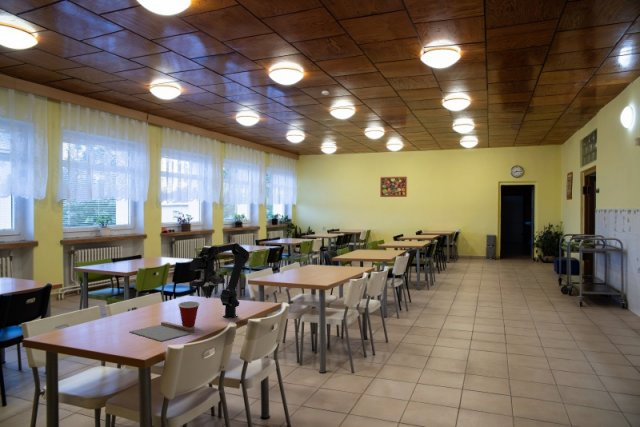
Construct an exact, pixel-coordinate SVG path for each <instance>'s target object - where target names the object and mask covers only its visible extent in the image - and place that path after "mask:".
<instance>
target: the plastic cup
mask: <svg viewBox="0 0 640 427" xmlns="http://www.w3.org/2000/svg"><path fill="white" fill-rule="evenodd" d="M200 304H201V303H200V302H197V301H193V300H192V301H183V302H179V303H178V304H177V306H178V309H179V312H180V319H181V320H180V321H181V326H185V327H189V328H194V327H195V325H196V319H197V315H198V310H199V306H200Z"/></svg>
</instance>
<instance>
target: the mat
mask: <svg viewBox="0 0 640 427" xmlns="http://www.w3.org/2000/svg"><path fill="white" fill-rule="evenodd" d="M128 333H131V334H133V335H134V334H135V335H137V336H141V337H144V338H147V339H151V340H154V341H159V342H160V343H162V342H165V341H170V340H174V339H178V338H181V337H185V336H188V335H189V336H190V335H193V333H190V332H187V331H183V330H179V329H175V328H171V327H167V326H163V325H161V324H157V325H151V326H148V327H144V328H143V327H142V328H139V329H134V330H130V331H129V332H128Z"/></svg>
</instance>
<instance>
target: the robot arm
mask: <svg viewBox="0 0 640 427" xmlns="http://www.w3.org/2000/svg"><path fill="white" fill-rule="evenodd" d="M229 251H231V254H232V255H233V261H234V264H233V267H232V271H231V274H230V277H229V280H228V284H227V287H226V288H225V289H224V288H222V290H221V293H220V299H219V300H220V301H221V305H222V306H225V307H224V315H222V318H227V317H233V316H236V315H237V313H236V312H237V308H238V307H239V306H240V301H239V299H237V295H238V294H237V286H238V283H239V280H240V277H241V274H242V271H243V267H244V266H245V264H246V263H247V262H248V261H249V258H250V253H249V251H248V250H246V248H245V247H243V246H241V245H240V244H239V243H238V242H229V243H225V244H220V245H204V246H203V247H202V249H201V251H200V252H199V254H198V256H197V257H193V258H192V260H191V262H190V264H189V268H190V269H191V271H193V272H198V271H201V273H202V275H203V277H202V278H201V280H200V279H198V280H195V279H194V280H192V281H191V284H190V285H191V287H195V288H200V289H201V290H202V292H203V294H204V296H205V299H211V298H212V296H213V292H214V290H215V288H216V287H217V286H218V285H220V284H221V285H222V284H225V283H226V279H225V274H223V273H220V274H217V271H216V270H215V261H218V258H217V257H216V256H218V255H219V254H221V253H226V252H229ZM236 317H237V316H236Z"/></svg>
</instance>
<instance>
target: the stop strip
mask: <svg viewBox="0 0 640 427" xmlns="http://www.w3.org/2000/svg"><path fill="white" fill-rule="evenodd" d="M160 325H163V326H167V327H171V328H175V329H179V330H183V331H187V332H190V333H192V334H194V333H195V328H194V327H191V328H189V327H185V326H183V325H182V324H176V323H172V322H168V321H165V320H164V321H161V322H160Z"/></svg>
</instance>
